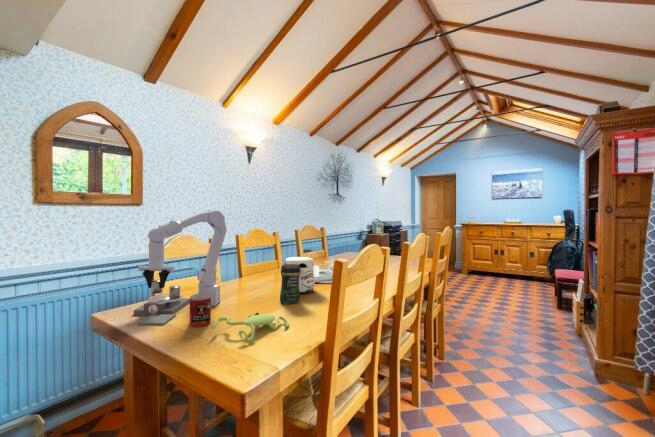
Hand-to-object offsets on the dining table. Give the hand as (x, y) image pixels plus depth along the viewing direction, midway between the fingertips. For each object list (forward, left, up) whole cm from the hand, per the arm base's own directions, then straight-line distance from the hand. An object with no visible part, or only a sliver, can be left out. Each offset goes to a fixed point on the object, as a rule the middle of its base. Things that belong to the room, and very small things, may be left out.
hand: (156, 287), depth 135 cm
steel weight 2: (-5, -6, -6) cm, 10 cm away
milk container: (-59, -37, -11) cm, 70 cm away
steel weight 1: (0, 0, -2) cm, 2 cm away
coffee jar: (-56, -17, -11) cm, 59 cm away
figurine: (-45, +20, -11) cm, 50 cm away
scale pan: (-1, -6, -7) cm, 9 cm away
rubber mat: (-6, +10, -10) cm, 16 cm away
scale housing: (-1, -5, -10) cm, 11 cm away
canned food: (-24, +13, -11) cm, 29 cm away
